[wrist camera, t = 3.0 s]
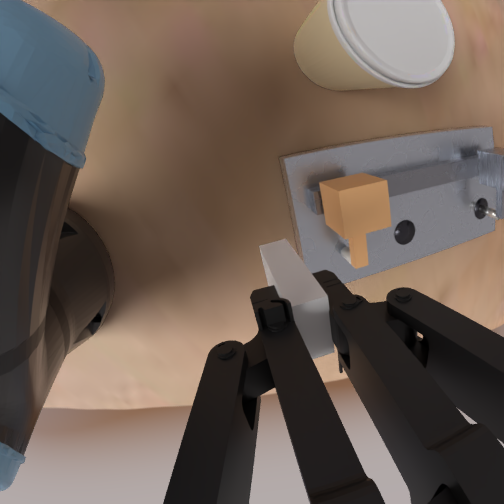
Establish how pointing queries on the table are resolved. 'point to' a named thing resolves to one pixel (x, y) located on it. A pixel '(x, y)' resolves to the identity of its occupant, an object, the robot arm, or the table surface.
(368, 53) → the coffee cup
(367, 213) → the block
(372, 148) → the plate
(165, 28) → the table surface
